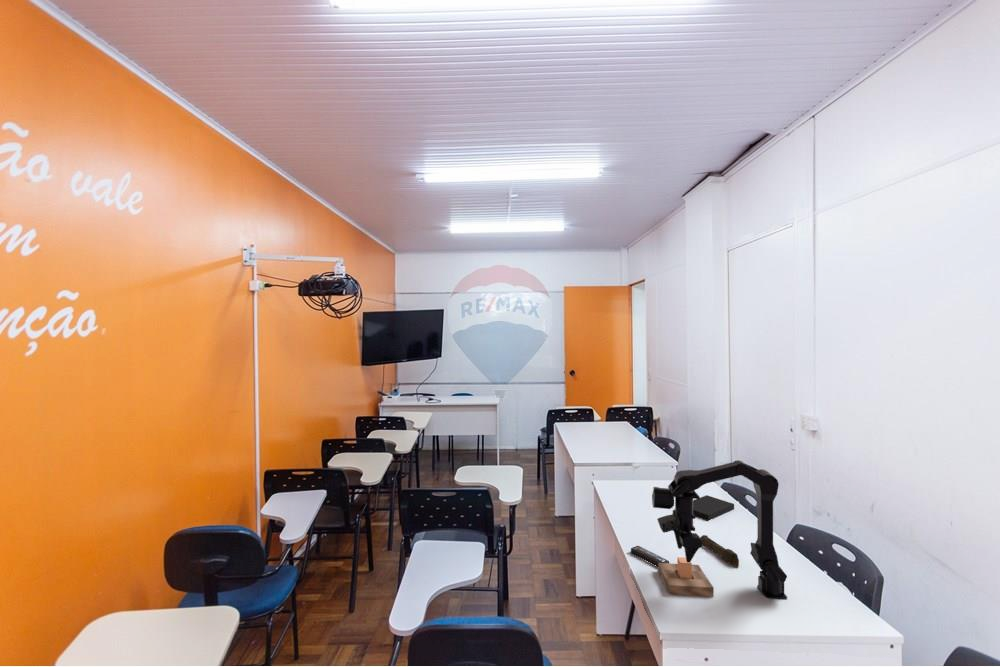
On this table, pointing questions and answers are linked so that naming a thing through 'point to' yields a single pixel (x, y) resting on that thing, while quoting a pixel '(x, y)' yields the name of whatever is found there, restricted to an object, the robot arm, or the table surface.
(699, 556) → the table surface
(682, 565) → the peg
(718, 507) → the external hard drive
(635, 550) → the multiport hub
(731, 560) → the brown long rough piece
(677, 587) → the socket block
